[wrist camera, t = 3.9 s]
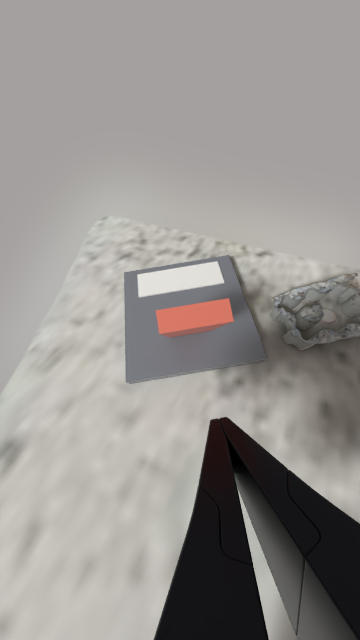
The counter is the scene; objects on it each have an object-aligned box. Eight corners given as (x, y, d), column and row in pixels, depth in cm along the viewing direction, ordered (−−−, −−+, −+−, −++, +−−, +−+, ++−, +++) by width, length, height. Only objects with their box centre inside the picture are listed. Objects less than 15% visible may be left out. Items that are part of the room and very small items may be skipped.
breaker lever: (214, 330, 22) (241, 320, 12) (166, 338, 22) (151, 335, 12) (211, 317, 23) (236, 297, 12) (164, 325, 23) (148, 311, 12)
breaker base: (263, 361, 22) (268, 357, 20) (130, 383, 22) (125, 381, 20) (227, 262, 29) (228, 254, 27) (127, 278, 29) (123, 271, 27)
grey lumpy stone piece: (336, 290, 26) (359, 269, 22) (370, 339, 22) (405, 324, 19) (262, 303, 25) (274, 285, 22) (286, 355, 22) (305, 344, 18)
